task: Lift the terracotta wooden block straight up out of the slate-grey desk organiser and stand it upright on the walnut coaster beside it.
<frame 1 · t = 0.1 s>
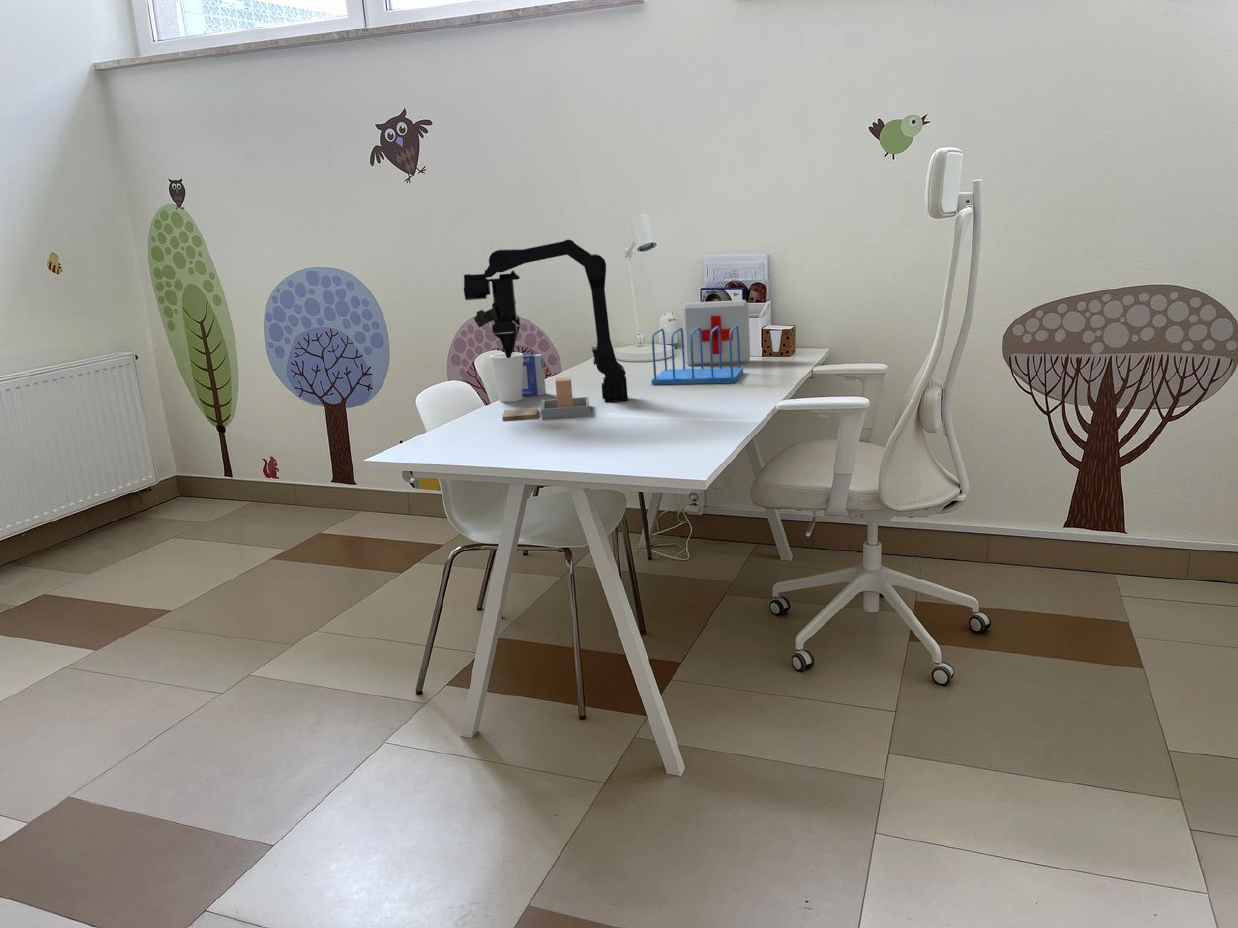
hand: (509, 355, 257), 15 cm above the table, fingers open, 9 cm apart
block: (564, 395, 248), in the organiser
bevelled white case: (717, 364, 308), on the table
organiser: (565, 412, 250), on the table
coaster: (520, 415, 249), on the table
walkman: (532, 395, 277), on the table, touching foam cup
file sorter: (698, 380, 284), on the table
foam cup: (510, 400, 272), on the table, touching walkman
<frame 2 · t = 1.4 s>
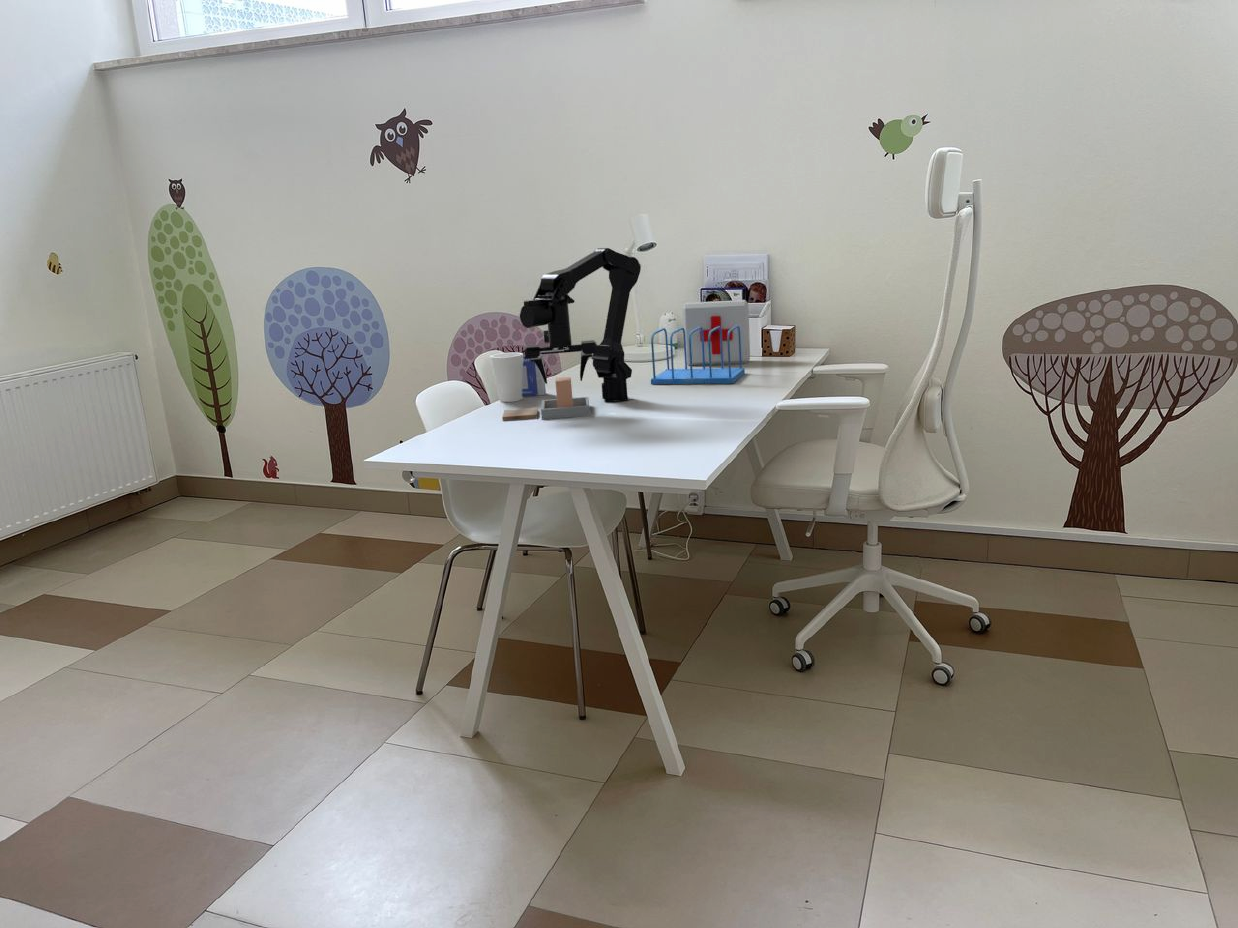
hand: (563, 382, 248), 8 cm above the table, fingers open, 9 cm apart
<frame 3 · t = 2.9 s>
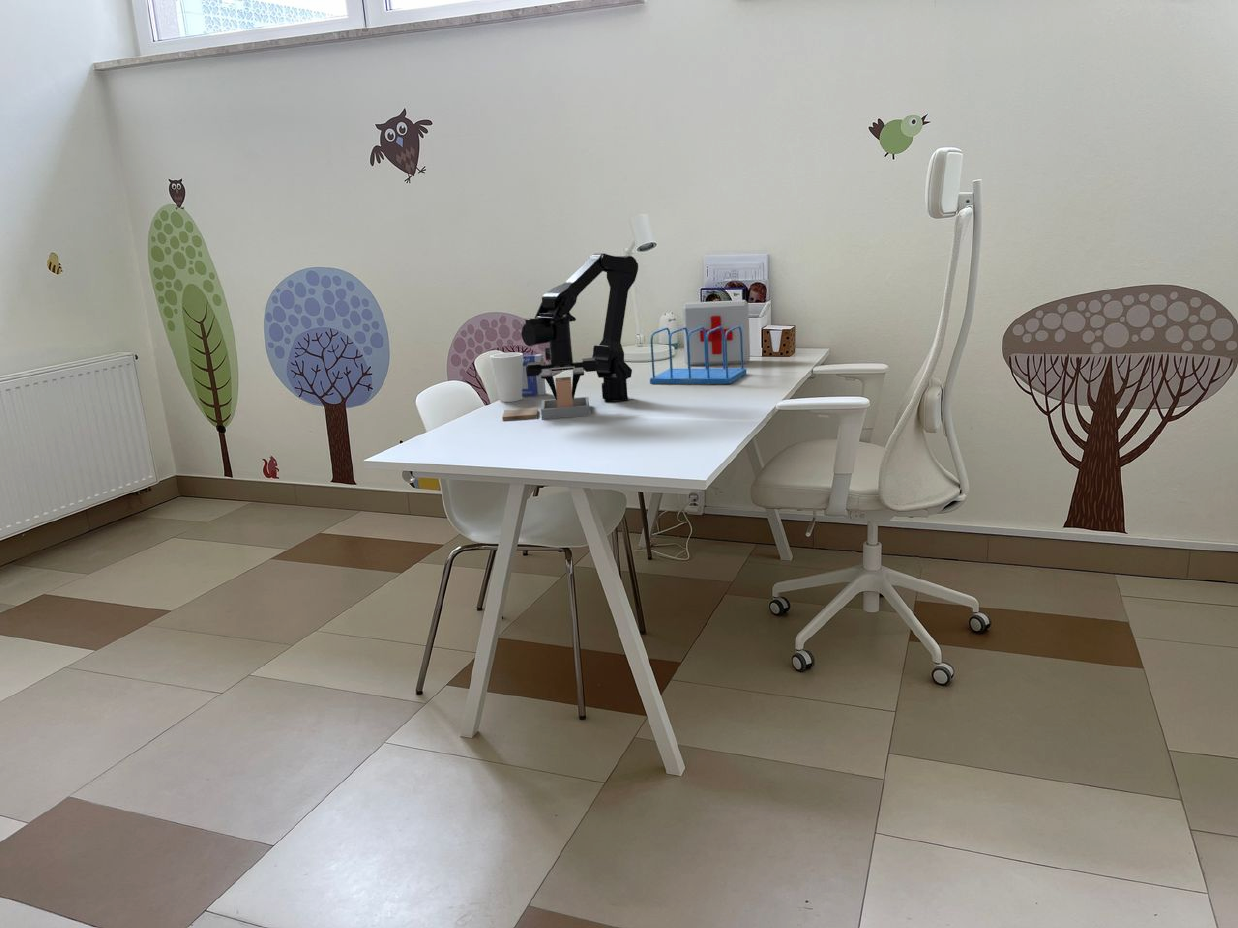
hand: (564, 399, 249), 4 cm above the table, fingers closed on block, 4 cm apart
block: (564, 395, 248), in the organiser, touching gripper
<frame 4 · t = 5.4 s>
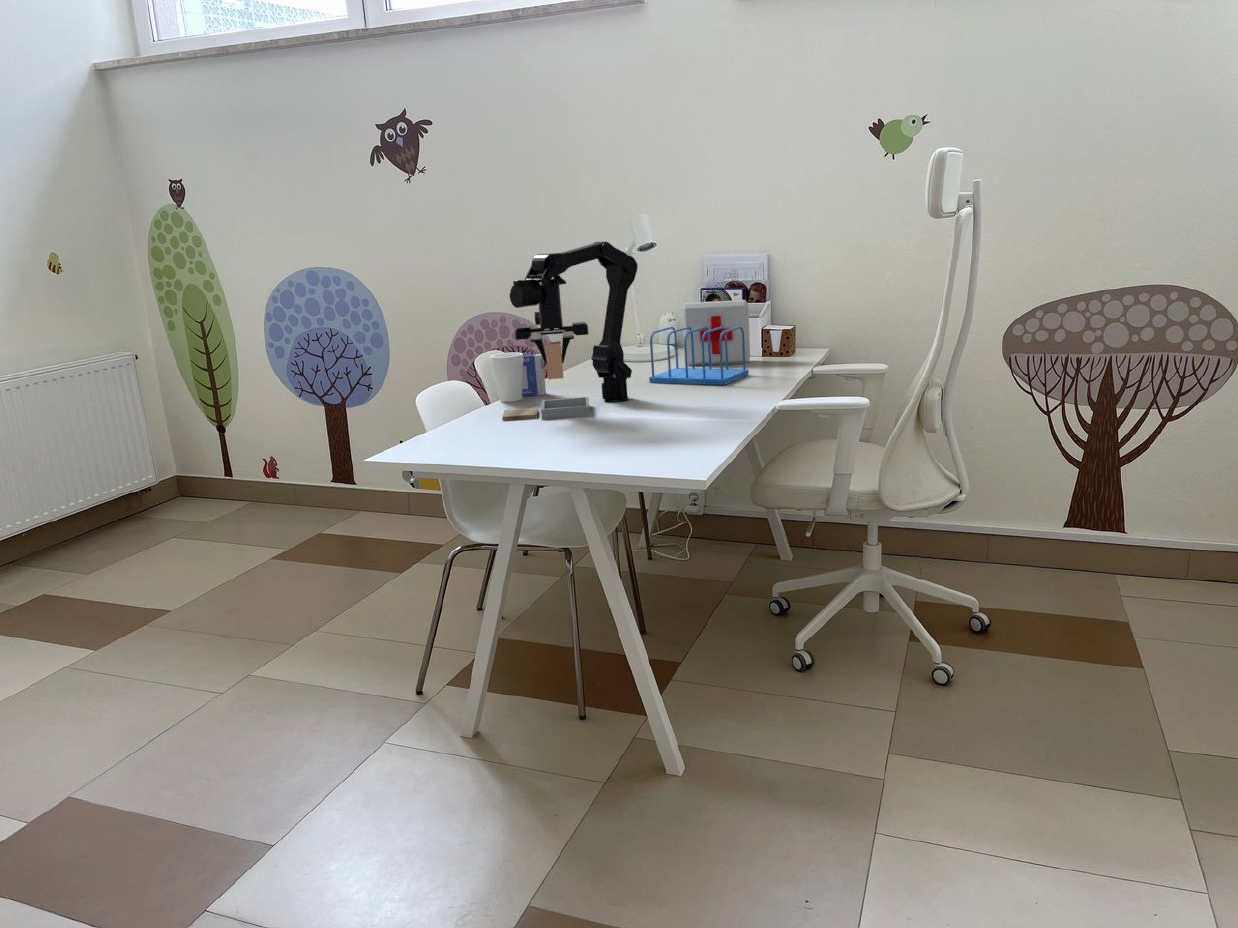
hand: (554, 363, 246), 13 cm above the table, fingers closed on block, 4 cm apart
block: (554, 360, 246), point 14 cm above the table, touching gripper
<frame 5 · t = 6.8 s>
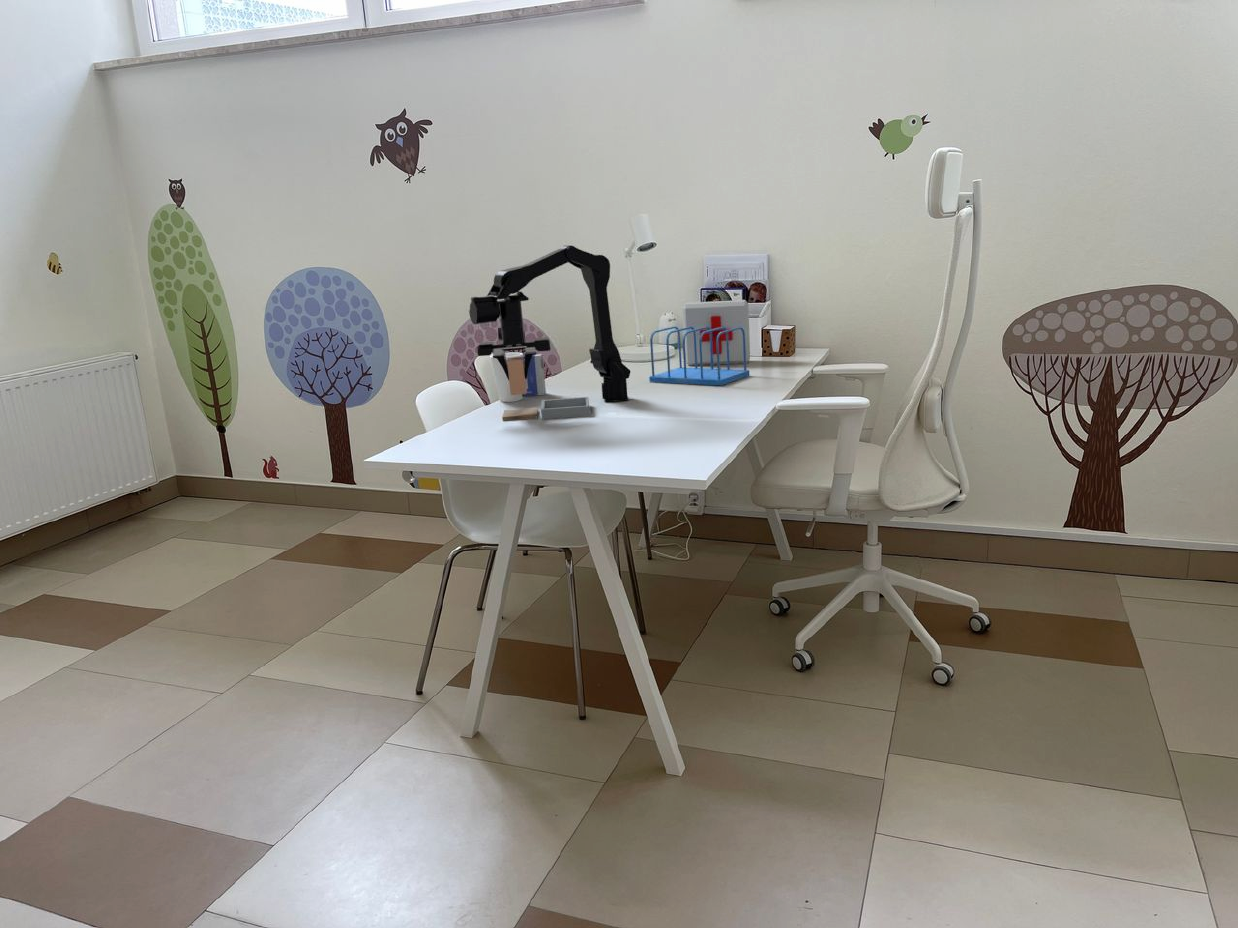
hand: (517, 379, 247), 10 cm above the table, fingers closed on block, 4 cm apart
block: (517, 375, 246), point 11 cm above the table, touching gripper
when the fingers open (6 cm above the table, at t = 8.1 s): block drops 1 cm, resting on coaster.
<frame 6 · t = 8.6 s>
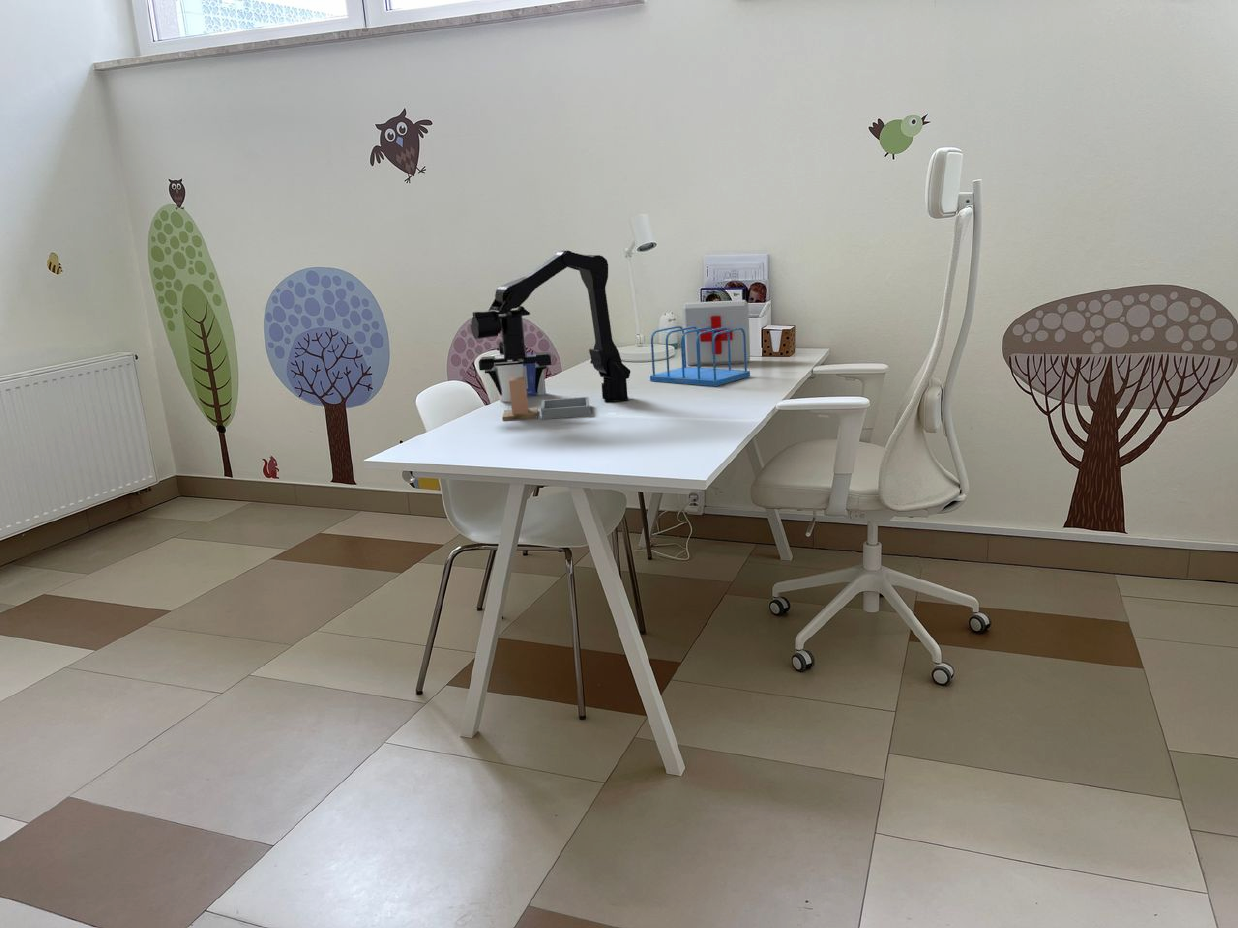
hand: (518, 393, 248), 6 cm above the table, fingers open, 9 cm apart
block: (519, 395, 248), on the coaster, point 6 cm above the table
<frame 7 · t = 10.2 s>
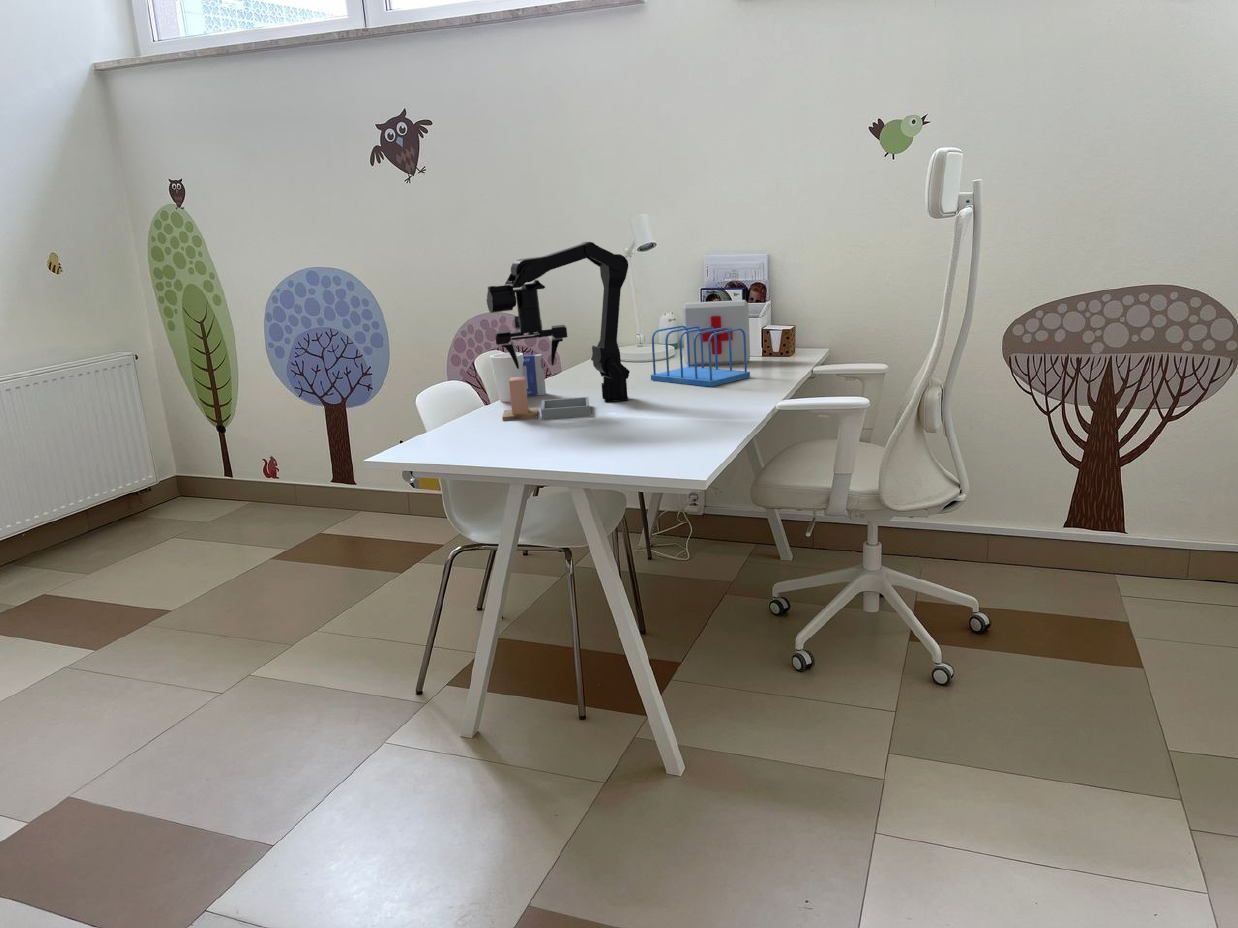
hand: (535, 366, 251), 12 cm above the table, fingers open, 9 cm apart
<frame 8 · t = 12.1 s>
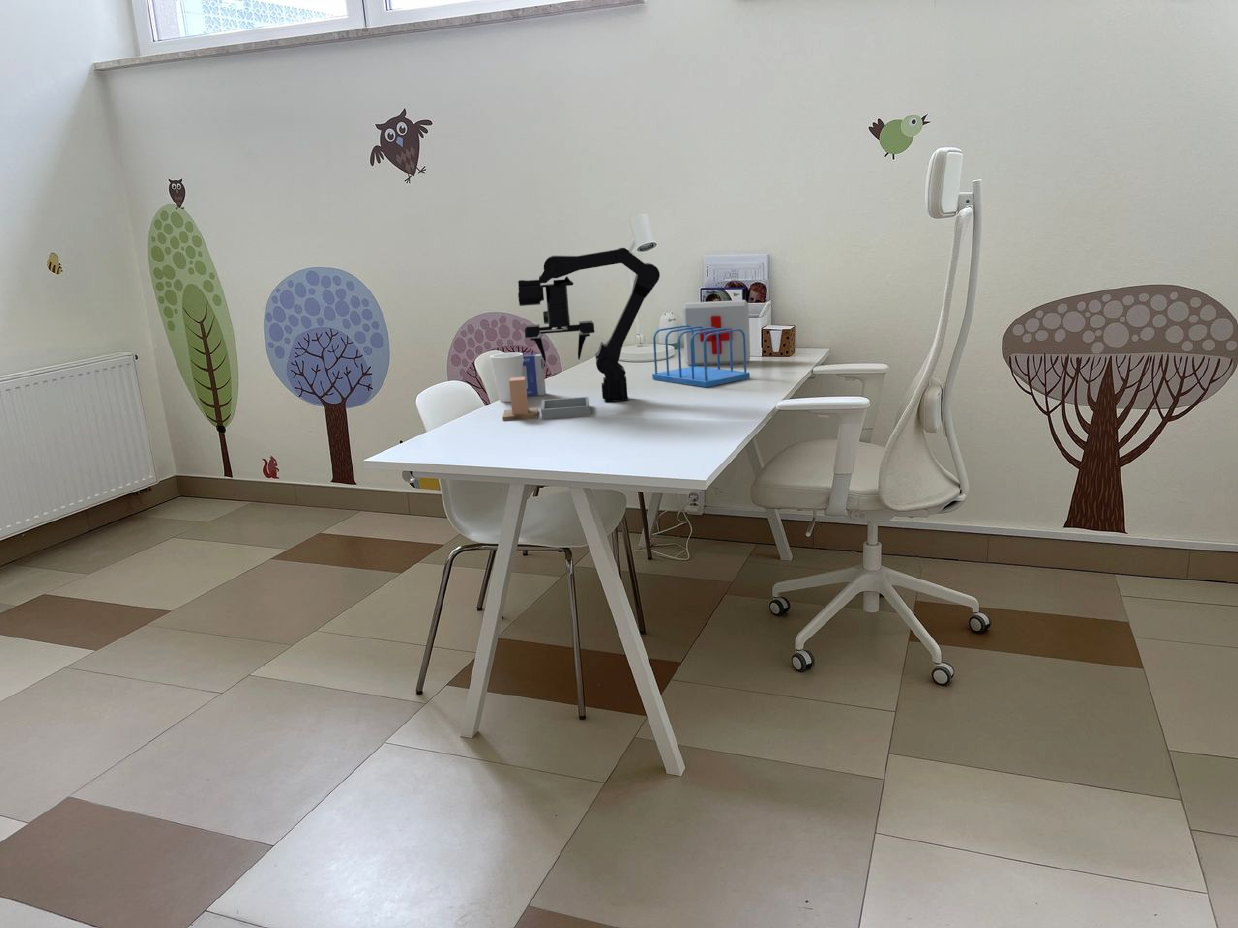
hand: (562, 360, 258), 12 cm above the table, fingers open, 9 cm apart
at the end: block inside the target area (0.1 cm from its centre), point 5.5 cm above the table; block tilted 0°; the gripper is holding nothing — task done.
